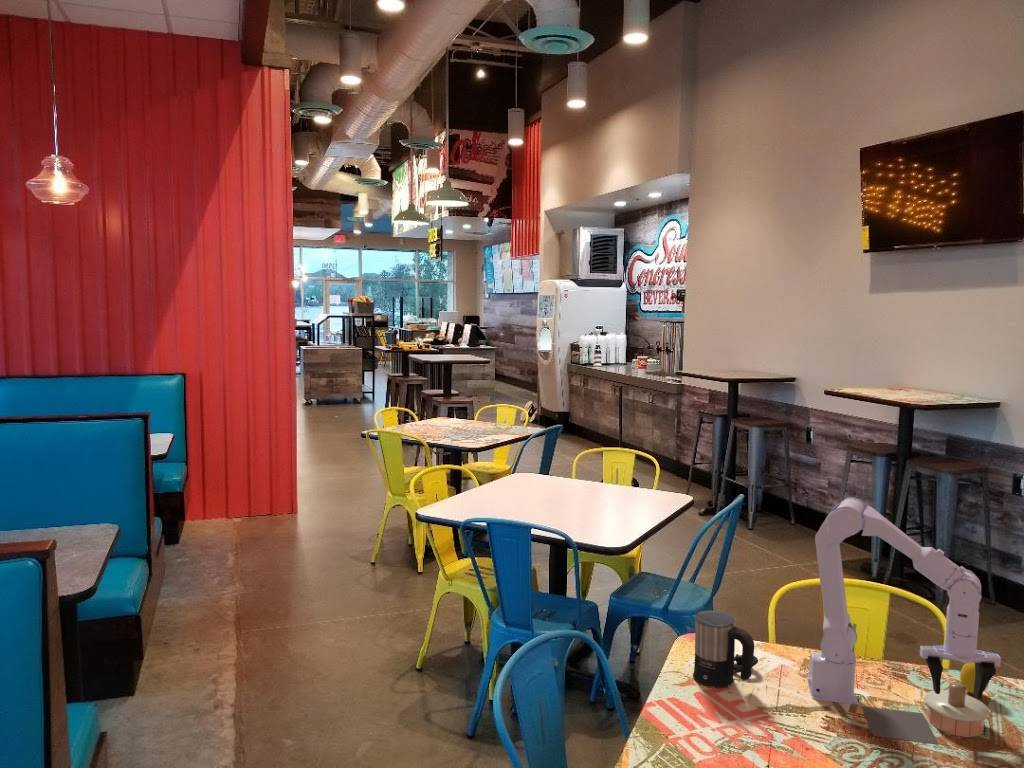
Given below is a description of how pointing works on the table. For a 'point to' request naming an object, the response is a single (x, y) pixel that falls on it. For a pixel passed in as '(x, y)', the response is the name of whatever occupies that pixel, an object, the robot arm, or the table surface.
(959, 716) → the lid
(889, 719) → the mat
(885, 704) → the table surface
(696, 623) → the milk frother
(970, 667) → the lemon
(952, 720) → the bowl
